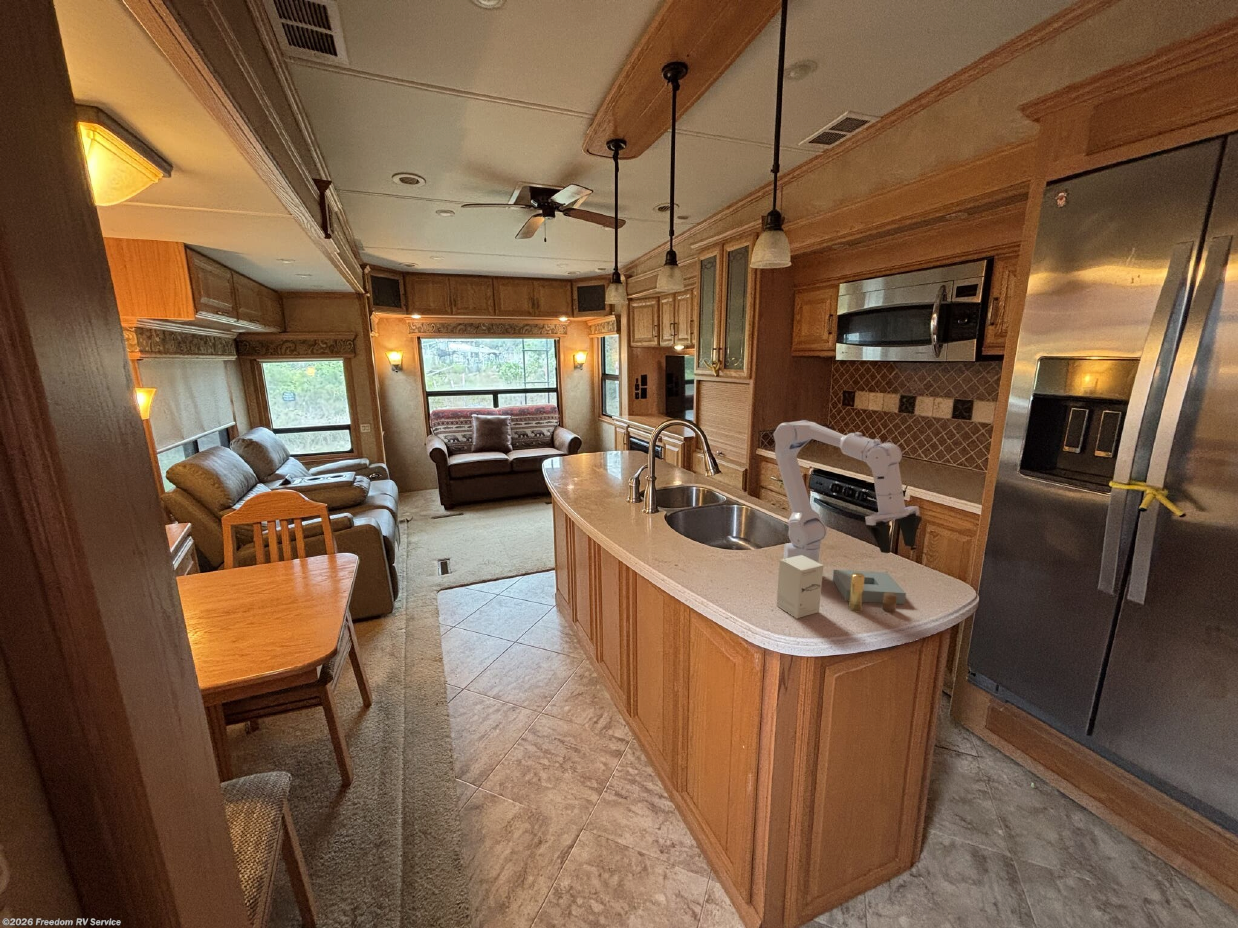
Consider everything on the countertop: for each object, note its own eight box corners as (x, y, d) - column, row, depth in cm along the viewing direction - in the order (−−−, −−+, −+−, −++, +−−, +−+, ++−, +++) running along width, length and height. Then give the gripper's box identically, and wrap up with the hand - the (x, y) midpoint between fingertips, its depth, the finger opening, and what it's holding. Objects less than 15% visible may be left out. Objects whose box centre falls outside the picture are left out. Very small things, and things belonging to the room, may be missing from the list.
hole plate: (845, 600, 124) (846, 589, 123) (832, 579, 136) (833, 569, 135) (904, 603, 122) (905, 593, 121) (886, 582, 134) (887, 572, 133)
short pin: (884, 612, 118) (886, 597, 117) (880, 606, 121) (882, 591, 120) (896, 613, 118) (898, 598, 117) (892, 607, 121) (894, 592, 120)
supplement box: (796, 619, 115) (800, 570, 113) (775, 605, 122) (778, 558, 119) (820, 612, 118) (824, 564, 116) (798, 599, 125) (801, 553, 122)
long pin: (850, 611, 119) (854, 577, 117) (847, 605, 122) (850, 572, 120) (862, 611, 119) (866, 578, 117) (858, 606, 121) (862, 572, 119)
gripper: (879, 499, 110) (888, 557, 111) (927, 488, 115) (935, 545, 115) (855, 498, 117) (864, 553, 117) (901, 488, 121) (909, 541, 122)
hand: (897, 549), depth 117 cm, fingers open, 7 cm apart
